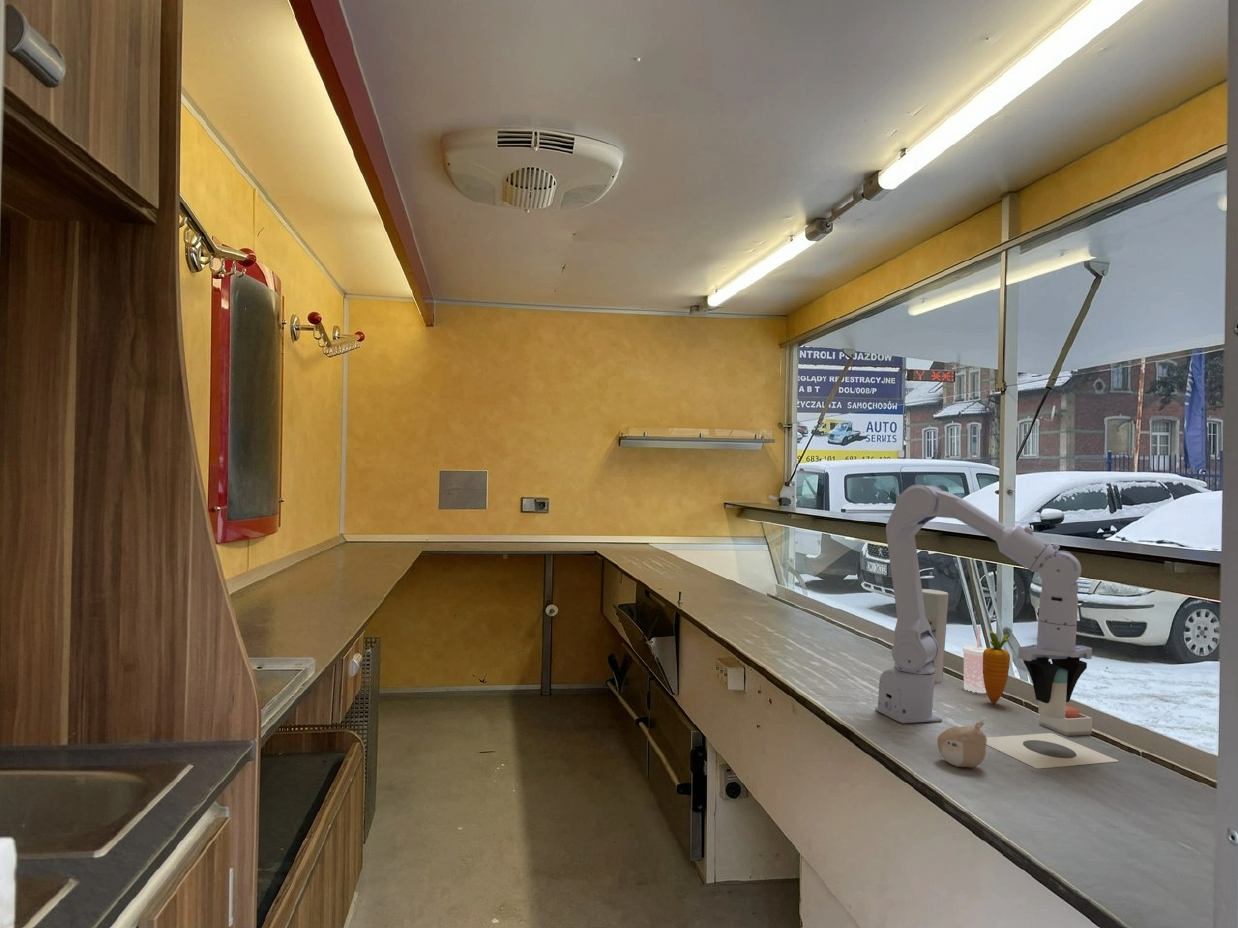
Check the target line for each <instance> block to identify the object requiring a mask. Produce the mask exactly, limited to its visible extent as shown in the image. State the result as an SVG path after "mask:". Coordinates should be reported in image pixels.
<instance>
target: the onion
mask: <svg viewBox="0 0 1238 928" xmlns="http://www.w3.org/2000/svg"><path fill="white" fill-rule="evenodd" d="M984 724H985V722H984V720H981V721H978V722H976V723H975V724H974V725H972V726H953V727H948V728H947V729H945V730H944V731H942V732H940V734H939V735H938V737H937V748H938V751H939V753H940V755H941V756H942V757H943V759H945V761H946V762H948V763H949V764H950V765H952V766H955V767H958V768H970V769H971V768H975V767H977V766H979V765H980V764H981V763H982V762H983V761H984V759H985V757H986V751H987V750H986V748H987V745H986V742H987V739H986V738H987V737H986V734H985V733H984V732H983V731H982V727H983V726H984Z"/></svg>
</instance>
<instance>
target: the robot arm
mask: <svg viewBox="0 0 1238 928" xmlns="http://www.w3.org/2000/svg"><path fill="white" fill-rule="evenodd" d="M935 518H936V519H937V518H944V519H945V518H946V519H954V520H958V521H959V522H960V523H963V524H965V525H966V526H968V527H970V528H972V529H974V530H976V531H977V532H979V533H980V534H982V535H984V536H986V537H988V538H989V539H991V540H993V541H995V542H996V543H997V547H998V550H999V553H1001V554H1003V556H1004V555H1005V556H1006V557H1008V558H1009V559H1010V560H1012V561H1014V562H1016V563H1017V564H1019V565H1021V566H1022V567H1024V568H1025V569H1027V570H1028V571H1030V572H1032V573H1038V575H1039V577H1040V579H1041V592H1040V593H1039V607H1038V622H1037V635H1036V643H1034V644H1029V645H1026V646H1018V651H1017V658H1018V659H1021V660H1022V661H1023V664H1024V665H1025V667H1026V669H1027V671H1028V674H1029V676H1030V678H1031V683H1032V687H1033V692H1034V696H1035V700H1036V701H1038V702H1039V701H1041V702H1044V703H1049V701H1050V698H1051V691H1052V684H1053V680H1054V677H1055V675H1056V672H1057V670H1058V668H1059V667H1061V668H1064V669H1067V670H1068V677H1067V694H1066V703H1069V702H1070V700H1071V698H1072V695H1073V693H1074V689H1075V687H1076V685H1077V682H1078V681H1079V679H1080V678H1081V675H1082V674H1083V673H1084V672H1085V671H1086V669H1088V663H1087V662H1086V661H1084V660H1081V659H1085V660H1092V658H1093V657H1092V654H1093V648H1092V647H1090V646H1089V647H1088V646H1085V645H1076V641H1077V625H1078V611H1079V609H1078V608H1079V598H1078V593H1079V586H1078V585H1079V583H1078V582H1077V581H1078V579H1080V577H1081V574H1082V565H1081V562H1080V560H1079V559H1078V558H1077V557H1075V555H1073V554H1072V553H1071V551H1066V550H1059V549H1060V547H1061V546H1060V545H1058V544H1056V543H1053V544H1051V543H1049V542H1048V541H1046V540H1044V539H1043V538H1041V537H1039V536H1038V535H1036V534H1034V533H1033V532H1035V531H1034V529H1033V528H1031V527H1029V526H1025V527H1024V528H1023V526H1020V525H1013V526H1006V525H1005V524H1003V523H1002V522H1000V521H998V520H997V519H995V518H994V517H992V516H991V515H989V514H987V513H985V512H984V511H982V510H981V509H980V508H978V507H977V506H974V505H973V504H971V503H970V502H968V501H966V500H965V499H963V498H961V497H959V496H957V495H956V494H954V493H952V492H949V491H945V490H943V489H942V488H940V487H939V486H935V485H931V484H930V485H925V484H924V485H923V484H913V485H910V486H909V487H907V488H906V489H905V490H904V491H903V492H902V493H900V494H899V495H898V496H897V497H896V499H895V504H894V507H893V509H892V512H891V514H890V517H889V519H888V520H887V523H886V526H885V533H886V541H887V542H886V543H887V549H888V556H889V565H890V571H891V581H892V588H893V595H894V603H895V604H894V605H895V608H896V610H895V611H896V618H897V621H896V624H895V627H894V632H893V634H894V642H893V645H892V648H891V655H892V659H893V661H894V666H893V667H892V668H891V669H887V670H886V669H885V670H884V671H882V673H881V675H880V676H879V683H878V696H877V697H878V699H877V706H875V707H874V710H875V711H877V712H879V713H881V714H882V715H885V716H887V717H888V718H891V719H893V720H894V721H897V722H899V723H901V724H915V723H931V722H932V723H933V722H943V718H942V717H940V716H938V715H937V714H934V713H933V706H934V705H933V704H934V702H933V701H934V691H935V690H934V688H935V683H934V675H935V673H934V672H935V669H934V667H933V665H932V661H933V660H934V659H935V658H936V657H937V655H938V652H939V647H938V643H937V641H936V639H935V638H934V636H933V635H932V632H931V626H930V624H929V622H928V620H927V618H926V616H925V608H924V601H923V594H922V589H923V588H922V586H923V585H922V581H921V573H920V564H919V558H918V551H917V545H916V543H917V542H916V534H918V532H919V531H920V530H921V529H922V528H923V527H924V526H925V525H926V524H927V523H928V522H930V521H932V520H934V519H935ZM1050 660H1051V661H1050Z"/></svg>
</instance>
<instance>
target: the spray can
mask: <svg viewBox="0 0 1238 928" xmlns="http://www.w3.org/2000/svg"><path fill="white" fill-rule="evenodd" d="M922 594H923V601H924V608H925V616H926V618H927V620H928V622H929V624H930V626H931V632H932V635H933V636H934V638H935V639H936V641H937V643H938V647H939V652H938V655H937V657H936V658H935V659H934V660H933V661H932V665H933V667H934V669H935V672H934V673H935V675H934V684H936V683H938V684H939V683H942V682H943V675H944V665H945V664H944V663H945V662H944V661H945V646H946V635H947V618H948V609H949V608H948V606H949V593H948V592H946V591H943V590H937V589H930V588H922Z"/></svg>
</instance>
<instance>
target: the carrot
mask: <svg viewBox="0 0 1238 928" xmlns="http://www.w3.org/2000/svg"><path fill="white" fill-rule="evenodd" d="M989 637H990V640H991V641H989V642H990V644H991V645H992V647H988V648H987V649H985V650H984V652H983V679H984V685H985V689H986V692H987V693H986V694H987V697H988V699H989V701H990V703H991V704H992V705H995V704H996V703H998V701H999V700H1000V699H1001V697H1002V695H1003V693H1004V691H1005V689H1006V685H1007V681H1008V677H1009V671H1010V664H1011V663H1010V662H1011V656H1010V653H1009V652H1008V651H1006V650H1005V649H1004V648H1003V646H1004V645H1005V643H1007V642H1008V639H1009V637H1010V635H1009V634H1006V633H1005V634H1004V636H1003V637H1002V639H1001V641H1000V640H999V638H998V636H997V633H995V632H994V630H991V631H989ZM1002 648H1003V649H1002Z"/></svg>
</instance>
